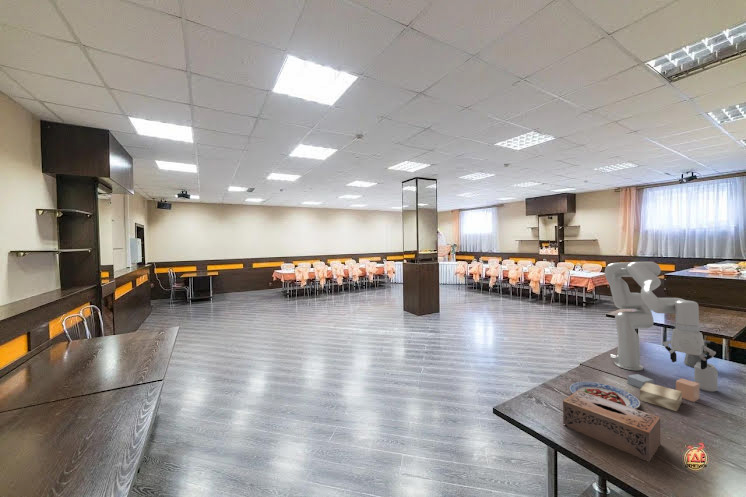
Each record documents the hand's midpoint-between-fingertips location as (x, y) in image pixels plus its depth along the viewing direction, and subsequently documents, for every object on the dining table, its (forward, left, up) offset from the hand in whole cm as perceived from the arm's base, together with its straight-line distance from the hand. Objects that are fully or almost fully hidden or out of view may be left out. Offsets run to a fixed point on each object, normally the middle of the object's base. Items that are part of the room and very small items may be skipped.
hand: (688, 365), depth 138 cm
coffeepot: (-11, +51, -15) cm, 55 cm away
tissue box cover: (-3, -61, -16) cm, 63 cm away
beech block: (-5, -14, -16) cm, 22 cm away
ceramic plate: (-18, -34, -16) cm, 41 cm away
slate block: (-16, -4, -15) cm, 23 cm away
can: (+1, +18, -15) cm, 24 cm away
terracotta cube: (0, 0, -15) cm, 15 cm away
